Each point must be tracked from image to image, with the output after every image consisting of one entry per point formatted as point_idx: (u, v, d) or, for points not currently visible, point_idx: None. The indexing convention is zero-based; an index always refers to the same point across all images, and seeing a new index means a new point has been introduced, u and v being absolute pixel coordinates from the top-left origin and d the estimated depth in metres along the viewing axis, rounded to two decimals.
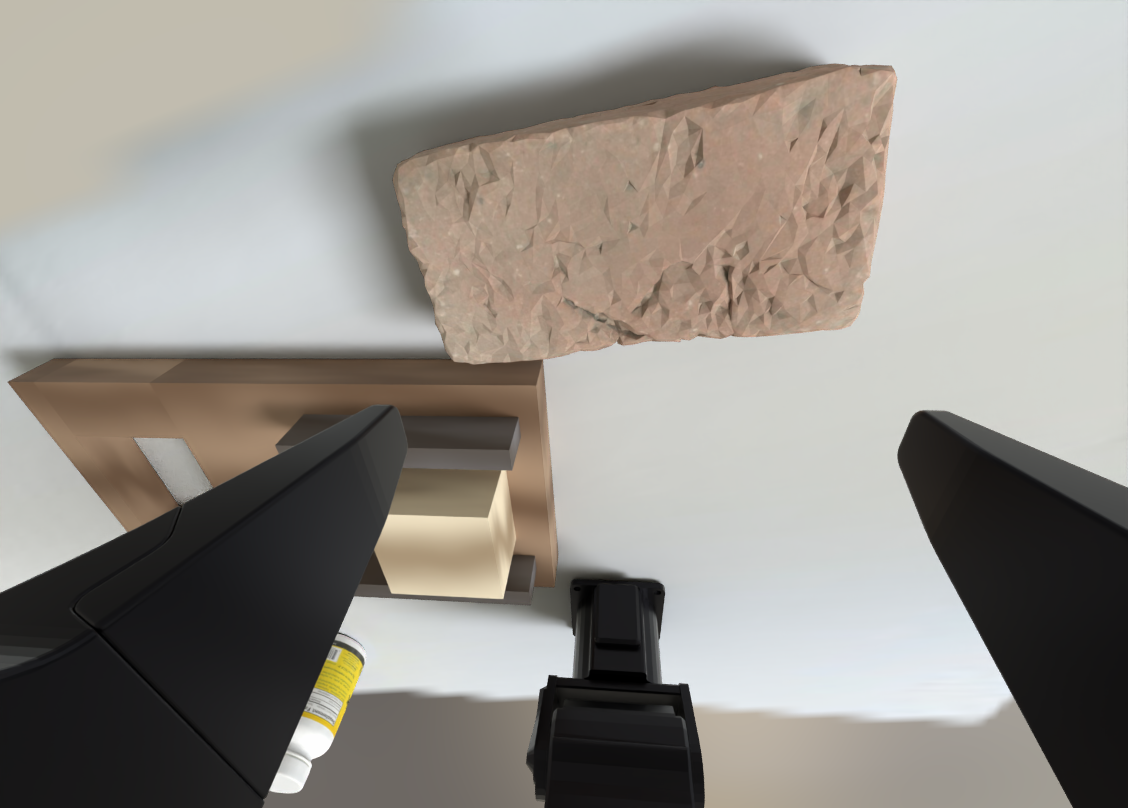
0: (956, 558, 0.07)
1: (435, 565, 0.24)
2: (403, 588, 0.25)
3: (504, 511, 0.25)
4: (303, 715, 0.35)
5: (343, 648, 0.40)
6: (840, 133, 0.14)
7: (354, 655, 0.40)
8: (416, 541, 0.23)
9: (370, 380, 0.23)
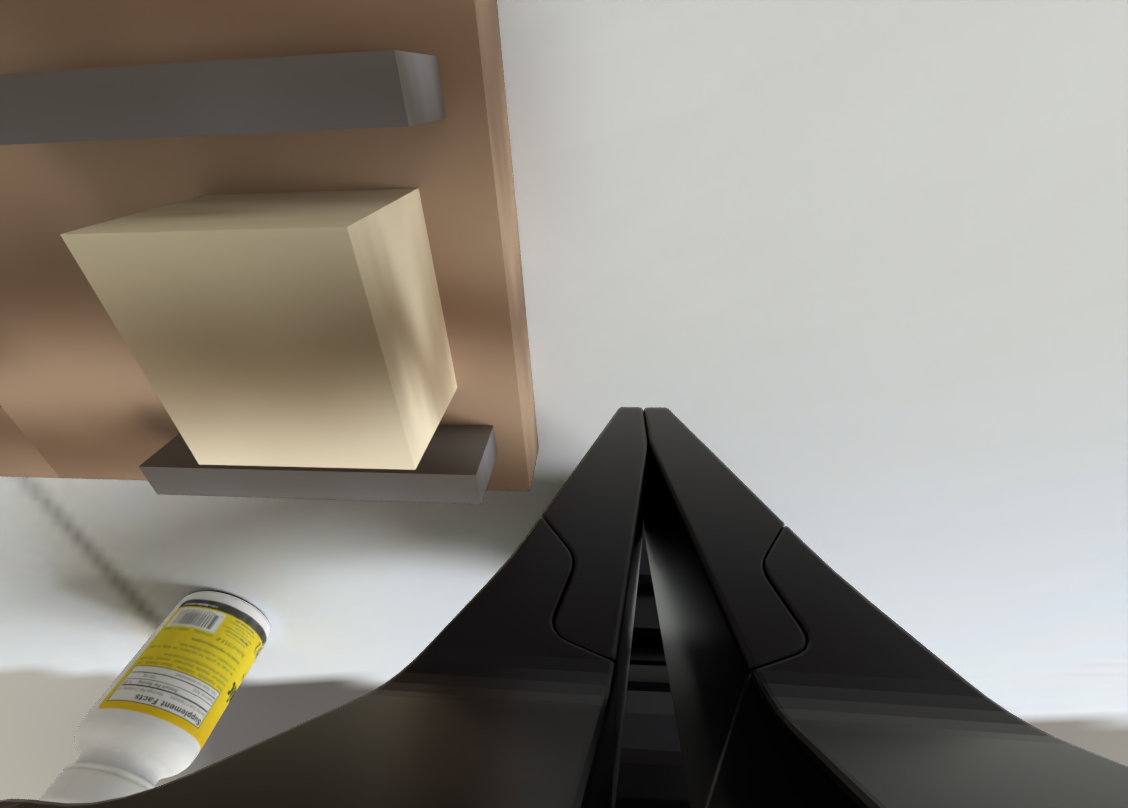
0: (650, 546, 0.07)
1: (264, 385, 0.11)
2: (218, 451, 0.13)
3: (419, 294, 0.12)
4: (143, 711, 0.23)
5: (229, 614, 0.27)
6: None
7: (246, 624, 0.28)
8: (207, 315, 0.10)
9: None
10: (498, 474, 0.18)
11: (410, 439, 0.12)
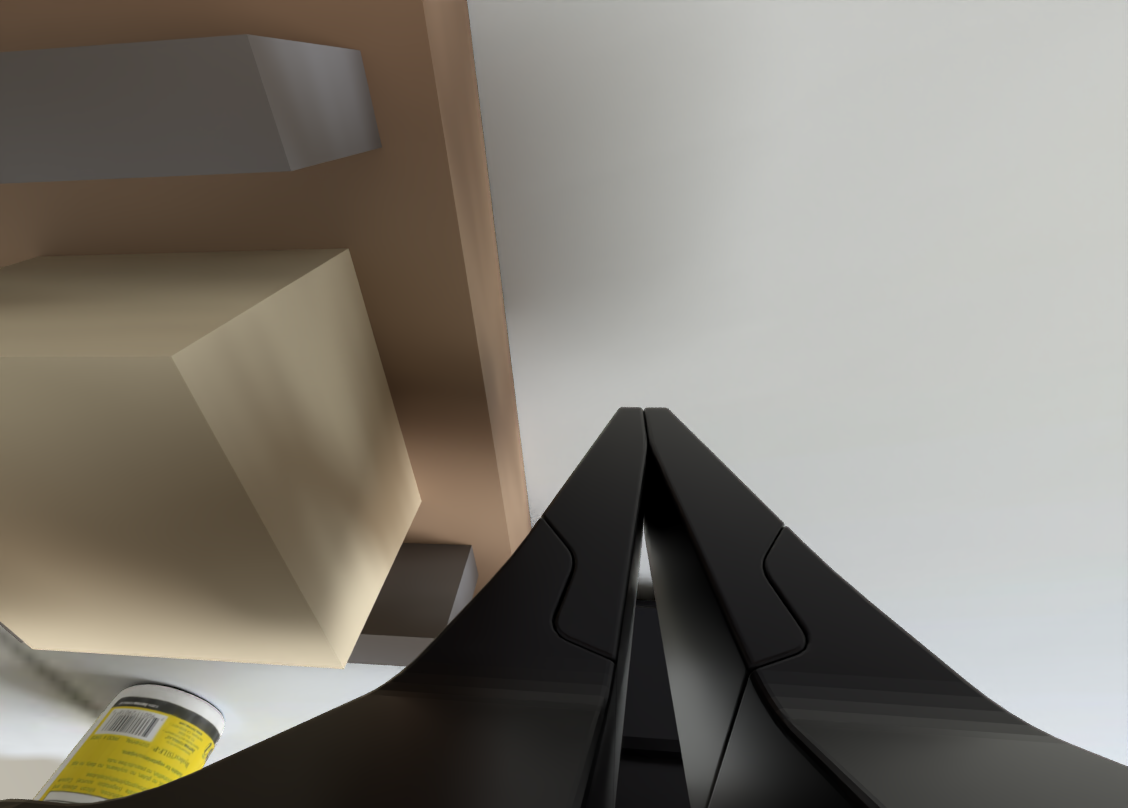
0: (650, 546, 0.07)
1: (97, 566, 0.07)
2: (54, 636, 0.09)
3: (350, 405, 0.08)
4: None
5: (171, 714, 0.23)
6: None
7: (193, 725, 0.23)
8: None
9: None
10: None
11: (333, 630, 0.08)
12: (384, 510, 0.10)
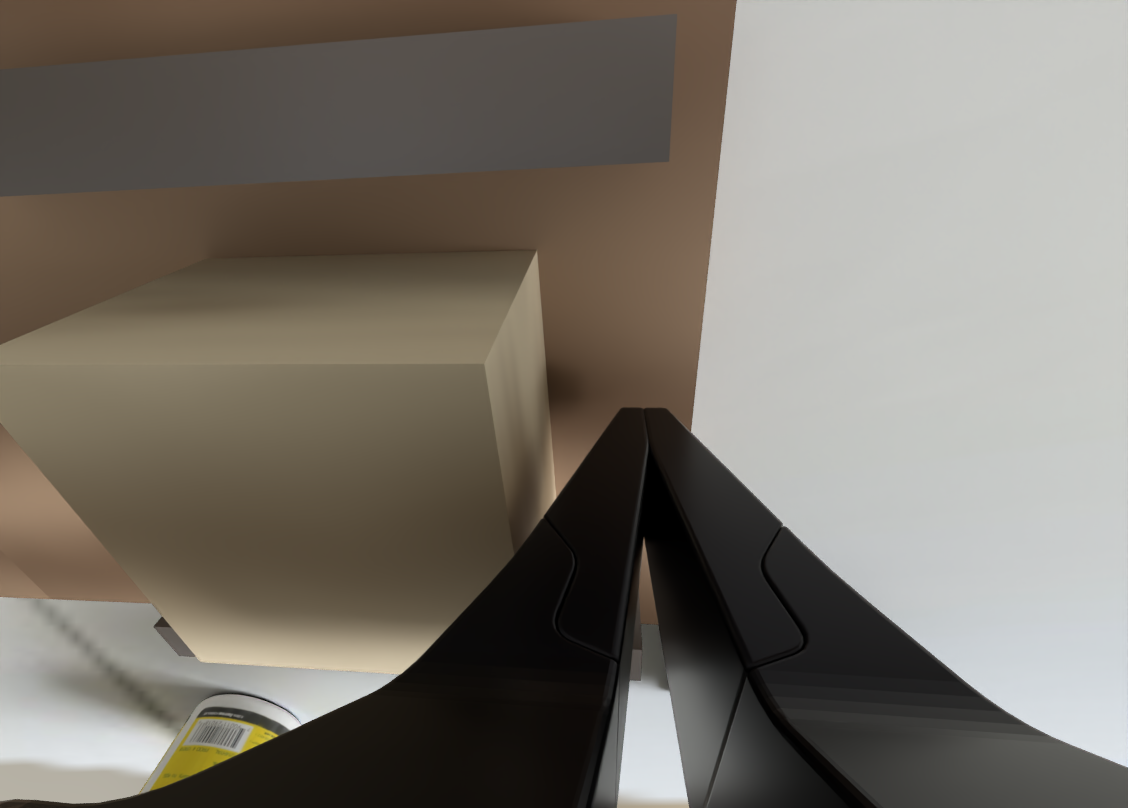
0: (649, 546, 0.07)
1: (307, 578, 0.07)
2: (230, 649, 0.08)
3: (536, 411, 0.08)
4: None
5: (256, 724, 0.23)
6: None
7: (277, 735, 0.23)
8: (214, 486, 0.06)
9: None
10: None
11: None
12: None
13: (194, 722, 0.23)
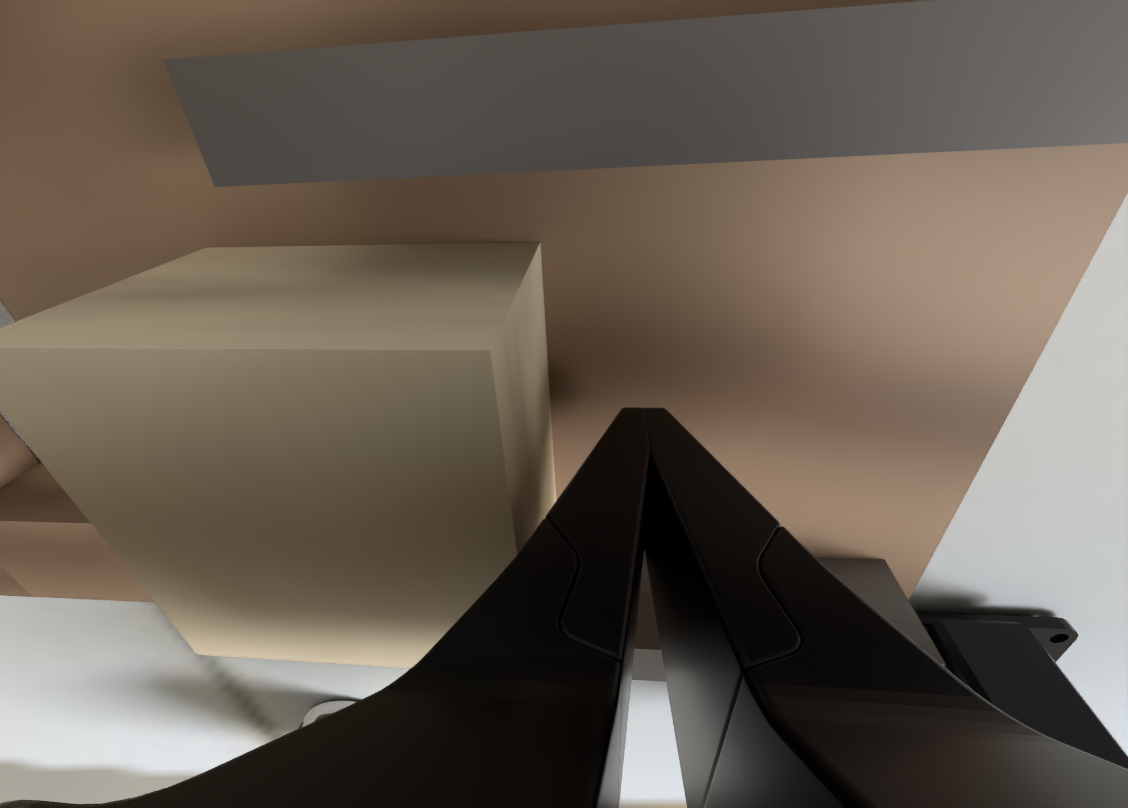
0: (647, 546, 0.07)
1: (307, 569, 0.07)
2: (227, 641, 0.08)
3: (538, 404, 0.08)
4: None
5: None
6: None
7: None
8: (214, 474, 0.06)
9: None
10: None
11: None
12: (546, 512, 0.09)
13: None
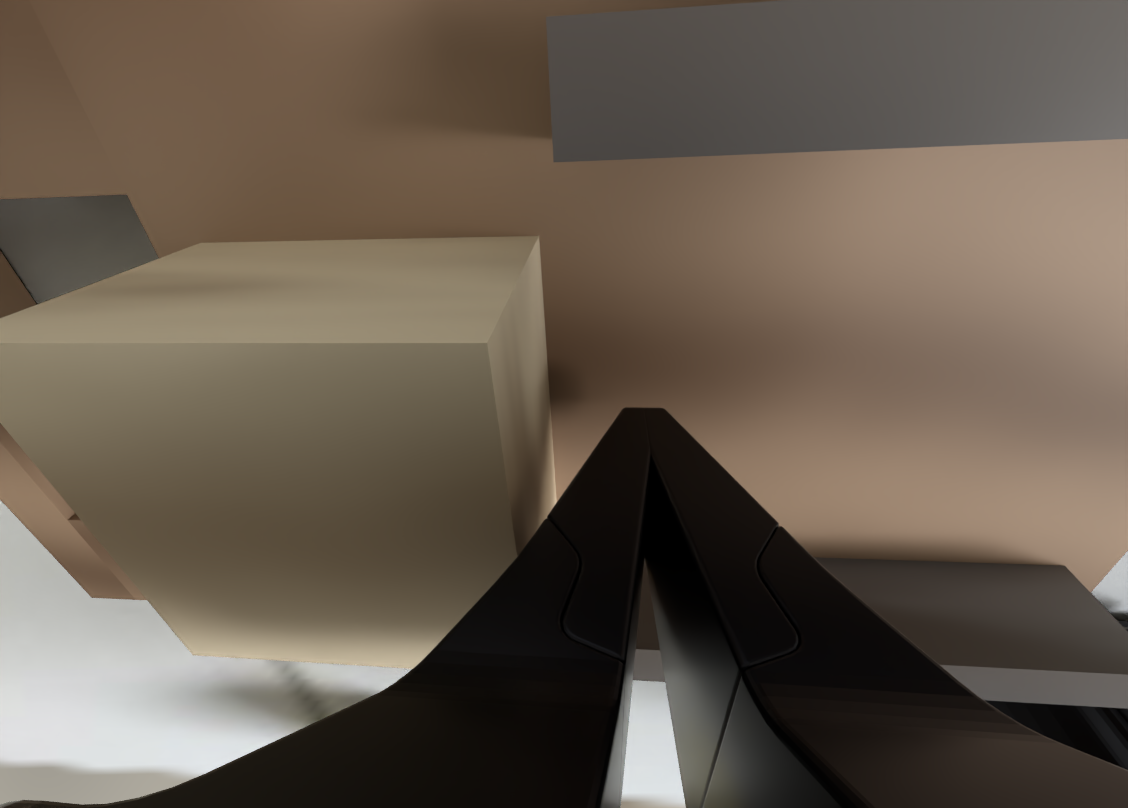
0: (646, 546, 0.07)
1: (302, 568, 0.07)
2: (223, 642, 0.08)
3: (537, 400, 0.08)
4: None
5: None
6: None
7: None
8: (208, 472, 0.06)
9: None
10: None
11: None
12: (546, 510, 0.09)
13: None
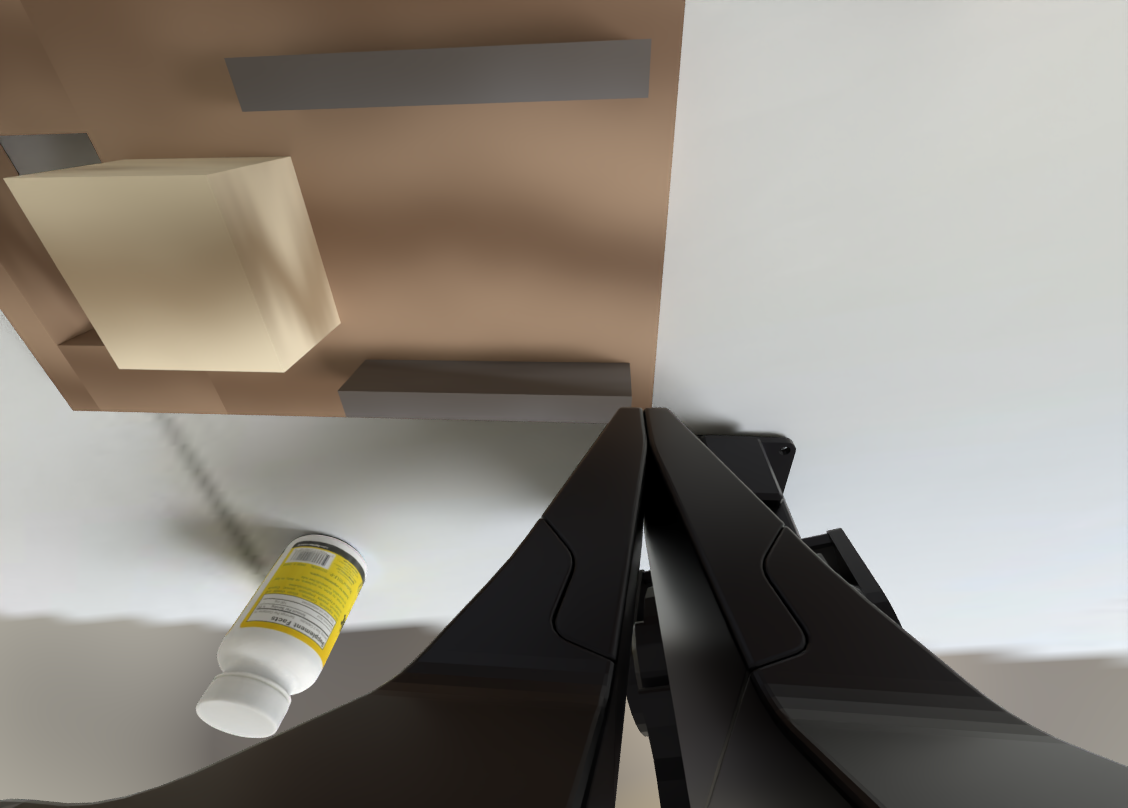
0: (650, 546, 0.07)
1: (162, 300, 0.15)
2: (132, 357, 0.16)
3: (290, 238, 0.16)
4: (280, 630, 0.25)
5: (337, 554, 0.30)
6: None
7: (352, 564, 0.30)
8: (114, 242, 0.14)
9: None
10: None
11: (278, 347, 0.16)
12: (312, 308, 0.17)
13: (290, 550, 0.30)
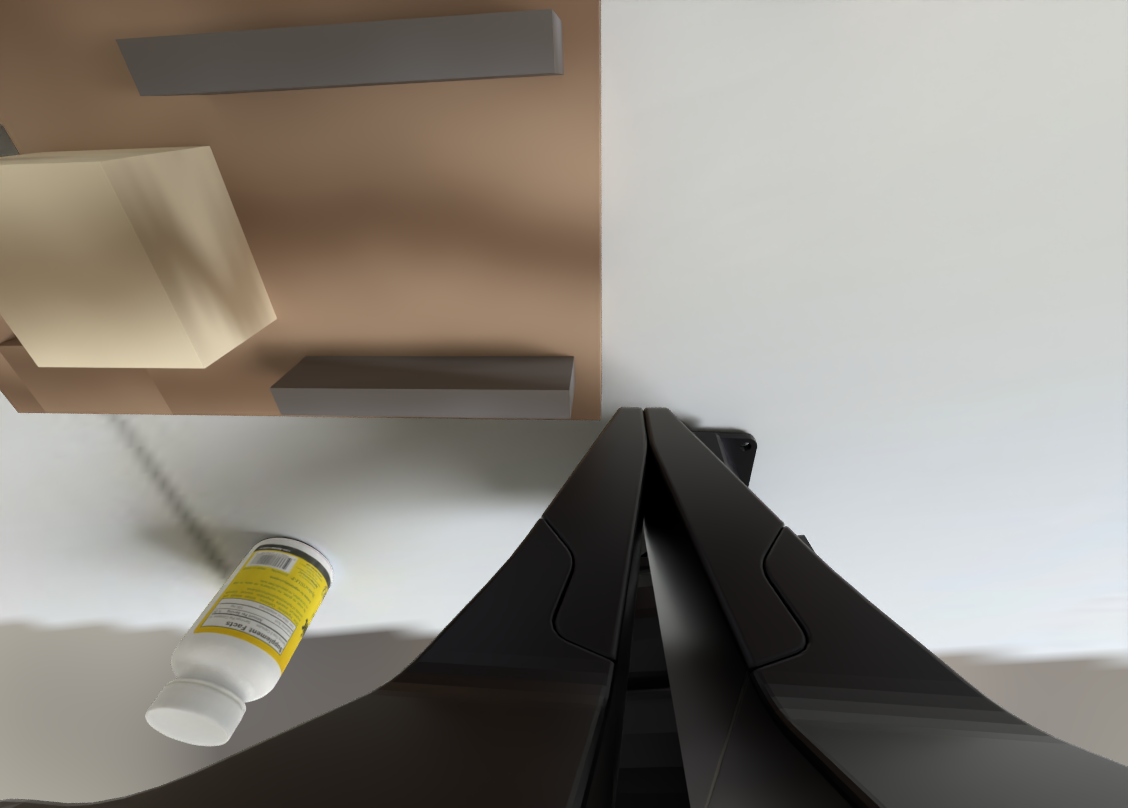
0: (650, 546, 0.07)
1: (72, 294, 0.14)
2: (50, 354, 0.16)
3: (210, 230, 0.16)
4: (235, 635, 0.25)
5: (300, 557, 0.29)
6: None
7: (315, 568, 0.30)
8: (16, 234, 0.14)
9: None
10: (573, 404, 0.20)
11: (196, 342, 0.15)
12: (240, 303, 0.17)
13: (252, 554, 0.29)
